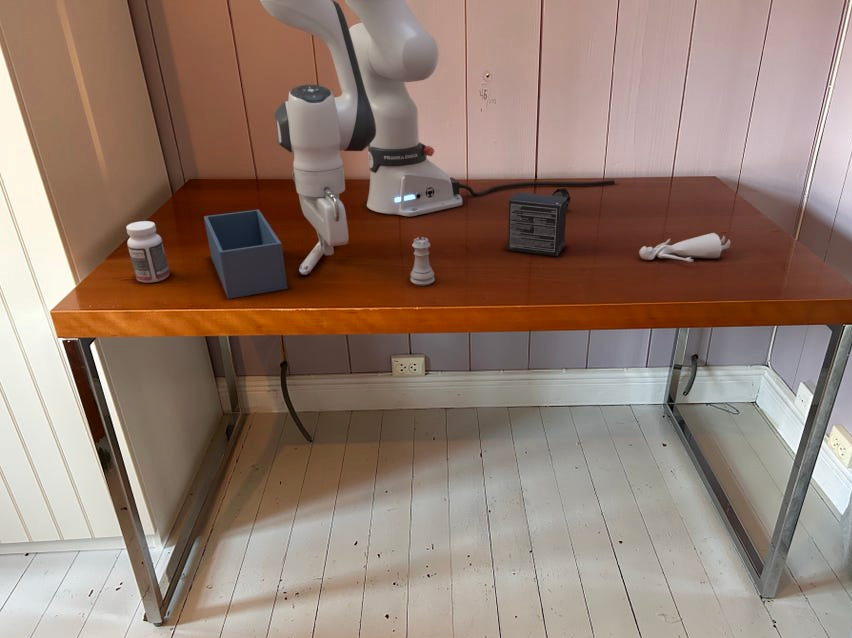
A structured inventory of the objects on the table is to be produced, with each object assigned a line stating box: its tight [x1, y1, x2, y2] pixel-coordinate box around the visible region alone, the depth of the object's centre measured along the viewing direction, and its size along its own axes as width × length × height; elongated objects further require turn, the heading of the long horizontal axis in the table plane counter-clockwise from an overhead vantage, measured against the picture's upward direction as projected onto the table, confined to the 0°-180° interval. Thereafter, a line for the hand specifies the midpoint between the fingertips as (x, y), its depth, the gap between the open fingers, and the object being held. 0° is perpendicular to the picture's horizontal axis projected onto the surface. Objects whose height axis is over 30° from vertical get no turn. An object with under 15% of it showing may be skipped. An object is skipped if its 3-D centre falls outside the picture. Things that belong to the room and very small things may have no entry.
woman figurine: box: [638, 232, 731, 263], centre depth 141 cm, size 12×4×18 cm
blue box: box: [203, 209, 288, 299], centre depth 132 cm, size 10×20×8 cm, turn 25°
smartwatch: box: [551, 187, 571, 208], centre depth 166 cm, size 4×5×5 cm
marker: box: [298, 240, 325, 276], centre depth 139 cm, size 18×2×2 cm, turn 175°
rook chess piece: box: [409, 236, 435, 287], centre depth 129 cm, size 4×4×8 cm
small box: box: [506, 191, 568, 257], centre depth 143 cm, size 11×6×10 cm, turn 71°
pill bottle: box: [126, 220, 170, 284], centre depth 129 cm, size 6×6×10 cm
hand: (327, 252), depth 138 cm, fingers closed
